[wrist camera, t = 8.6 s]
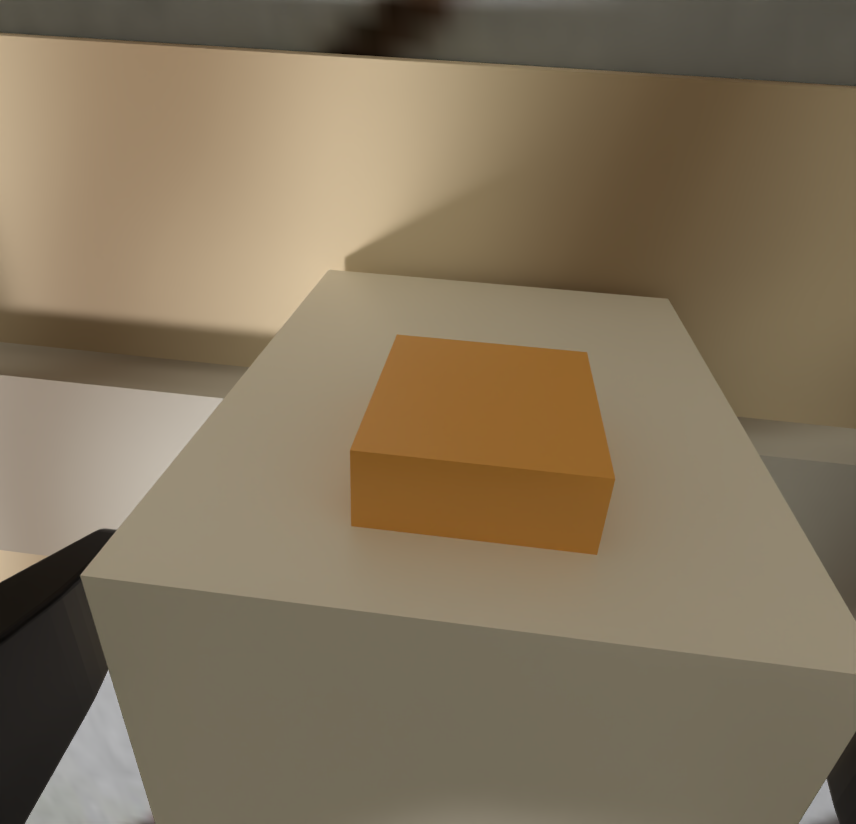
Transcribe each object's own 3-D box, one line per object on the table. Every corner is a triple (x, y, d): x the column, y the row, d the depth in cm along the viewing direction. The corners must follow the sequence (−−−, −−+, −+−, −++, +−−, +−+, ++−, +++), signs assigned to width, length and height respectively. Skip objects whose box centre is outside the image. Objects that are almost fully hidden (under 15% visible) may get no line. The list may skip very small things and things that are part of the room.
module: (679, 253, 8) (938, 596, 3) (578, 659, 12) (622, 1104, 7) (327, 225, 8) (54, 494, 3) (339, 627, 12) (217, 1030, 7)
